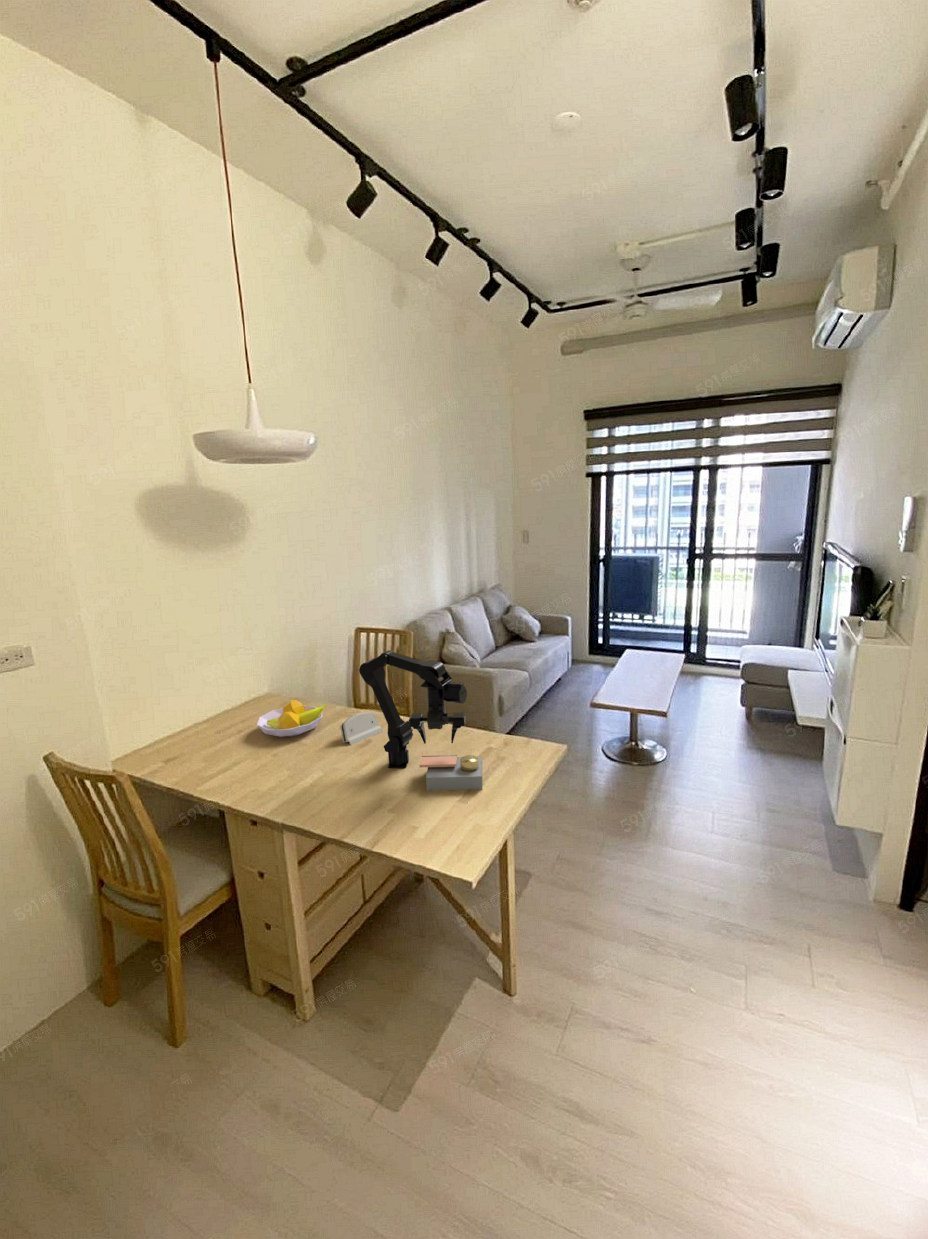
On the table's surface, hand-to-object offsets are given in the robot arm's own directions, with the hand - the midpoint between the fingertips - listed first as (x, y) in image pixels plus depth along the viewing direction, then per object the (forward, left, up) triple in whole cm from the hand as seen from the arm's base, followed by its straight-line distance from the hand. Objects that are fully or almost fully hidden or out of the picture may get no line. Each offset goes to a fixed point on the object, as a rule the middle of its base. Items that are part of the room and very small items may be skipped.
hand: (438, 743), depth 187 cm
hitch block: (+6, -5, -11) cm, 13 cm away
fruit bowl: (-64, +40, -11) cm, 76 cm away
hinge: (-34, +32, -11) cm, 48 cm away
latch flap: (0, +1, -6) cm, 6 cm away
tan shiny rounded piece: (+10, -6, -10) cm, 16 cm away
